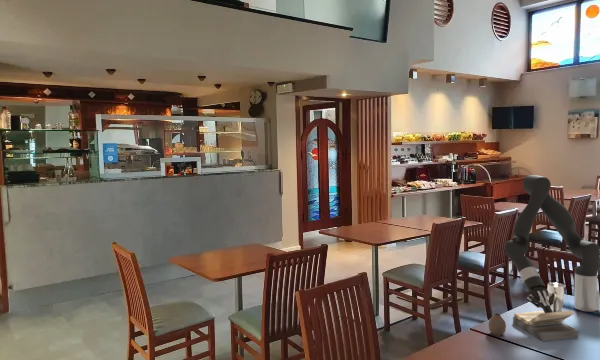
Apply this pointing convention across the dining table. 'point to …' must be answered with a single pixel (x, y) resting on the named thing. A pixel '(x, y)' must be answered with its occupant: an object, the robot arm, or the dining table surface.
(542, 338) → the floor board
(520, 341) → the dining table surface
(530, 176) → the robot arm
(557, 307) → the metal can
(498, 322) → the vase
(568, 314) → the oak plank
